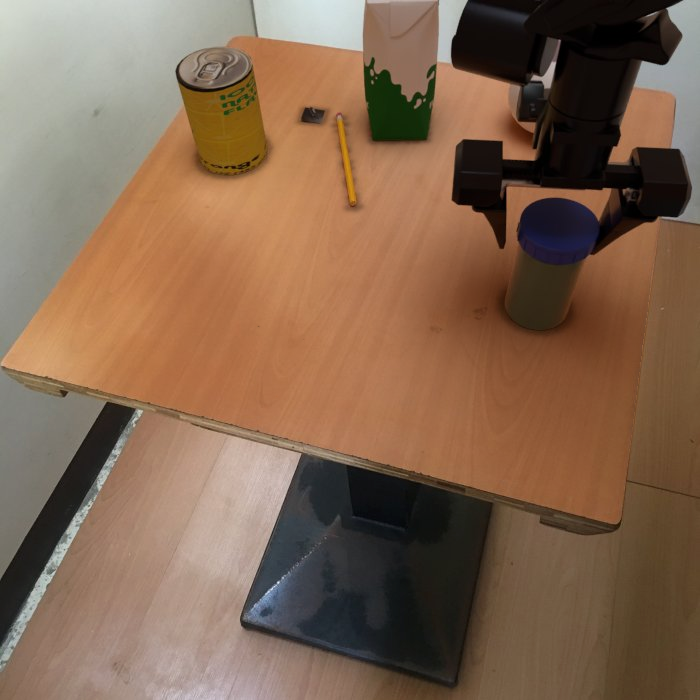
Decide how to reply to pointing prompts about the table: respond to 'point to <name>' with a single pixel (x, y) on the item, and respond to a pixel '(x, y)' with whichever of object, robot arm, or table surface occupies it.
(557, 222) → the lid
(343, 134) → the pencil
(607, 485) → the table surface
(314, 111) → the dark square tile
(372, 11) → the soya milk
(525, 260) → the jar
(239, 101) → the beverage can
